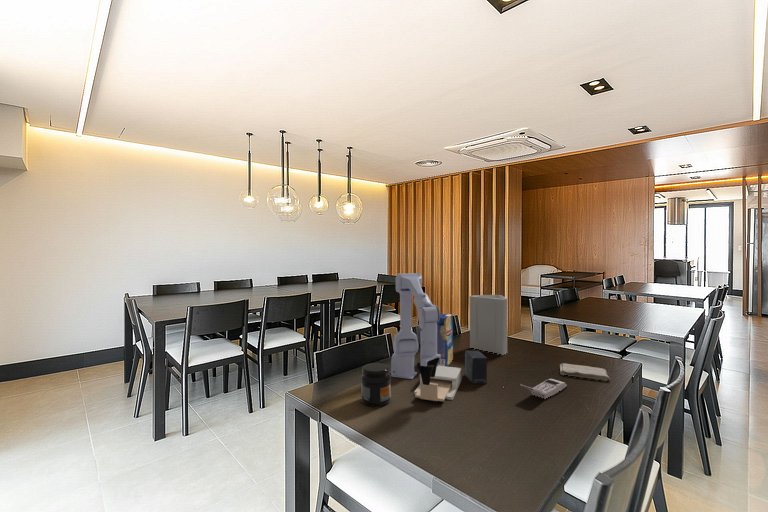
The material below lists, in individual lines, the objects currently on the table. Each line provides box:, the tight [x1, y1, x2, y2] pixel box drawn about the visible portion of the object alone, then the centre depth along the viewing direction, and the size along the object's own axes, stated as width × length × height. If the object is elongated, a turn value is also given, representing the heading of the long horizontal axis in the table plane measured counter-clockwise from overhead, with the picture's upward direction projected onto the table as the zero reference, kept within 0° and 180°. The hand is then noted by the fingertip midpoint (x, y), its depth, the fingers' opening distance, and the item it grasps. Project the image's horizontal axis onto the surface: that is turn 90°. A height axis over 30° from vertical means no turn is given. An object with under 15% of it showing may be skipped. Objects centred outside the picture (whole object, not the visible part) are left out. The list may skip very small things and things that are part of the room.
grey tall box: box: [469, 294, 508, 356], centre depth 190 cm, size 19×15×28 cm
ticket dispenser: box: [413, 366, 463, 401], centre depth 138 cm, size 14×20×5 cm
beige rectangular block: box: [414, 380, 452, 402], centre depth 130 cm, size 10×16×6 cm, turn 159°
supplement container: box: [360, 362, 392, 407], centre depth 126 cm, size 10×10×12 cm
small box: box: [464, 350, 488, 385], centre depth 146 cm, size 11×6×10 cm, turn 3°
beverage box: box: [437, 313, 454, 367], centre depth 167 cm, size 7×11×22 cm, turn 153°
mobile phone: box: [520, 378, 568, 400], centre depth 131 cm, size 6×6×25 cm
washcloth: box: [559, 362, 611, 381], centre depth 151 cm, size 12×18×3 cm, turn 64°
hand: (428, 380), depth 123 cm, fingers open, 7 cm apart
